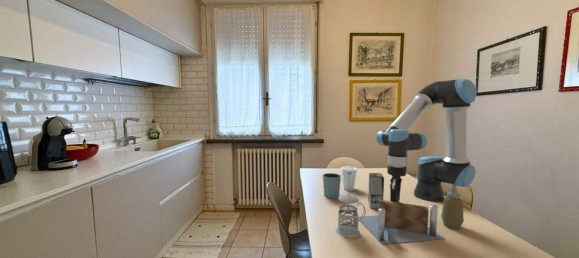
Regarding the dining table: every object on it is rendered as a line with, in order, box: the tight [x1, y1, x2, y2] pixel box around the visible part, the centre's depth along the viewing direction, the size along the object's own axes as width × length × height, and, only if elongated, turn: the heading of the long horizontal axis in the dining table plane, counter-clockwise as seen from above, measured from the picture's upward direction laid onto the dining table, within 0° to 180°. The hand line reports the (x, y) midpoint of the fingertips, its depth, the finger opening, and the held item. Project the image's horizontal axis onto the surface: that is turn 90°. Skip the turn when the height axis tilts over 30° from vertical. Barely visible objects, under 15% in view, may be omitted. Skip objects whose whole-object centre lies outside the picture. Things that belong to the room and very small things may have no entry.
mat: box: [358, 214, 446, 245], centre depth 104 cm, size 26×23×1 cm
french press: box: [335, 171, 367, 239], centre depth 99 cm, size 10×12×25 cm
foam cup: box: [340, 165, 358, 191], centre depth 154 cm, size 10×9×13 cm
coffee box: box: [368, 172, 385, 210], centre depth 127 cm, size 9×6×16 cm
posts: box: [376, 204, 439, 243], centre depth 94 cm, size 24×4×12 cm, turn 99°
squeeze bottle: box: [440, 184, 465, 230], centre depth 104 cm, size 8×8×18 cm
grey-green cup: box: [322, 172, 342, 199], centre depth 141 cm, size 10×10×12 cm
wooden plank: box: [379, 199, 430, 233], centre depth 101 cm, size 18×2×10 cm, turn 65°
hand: (394, 218), depth 107 cm, fingers closed
